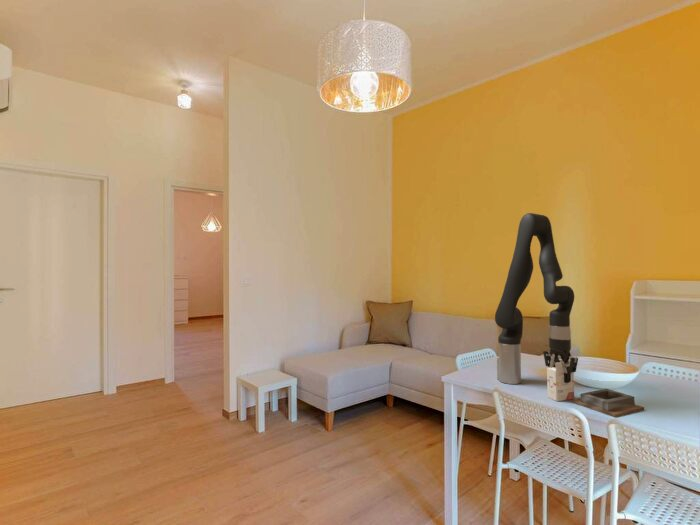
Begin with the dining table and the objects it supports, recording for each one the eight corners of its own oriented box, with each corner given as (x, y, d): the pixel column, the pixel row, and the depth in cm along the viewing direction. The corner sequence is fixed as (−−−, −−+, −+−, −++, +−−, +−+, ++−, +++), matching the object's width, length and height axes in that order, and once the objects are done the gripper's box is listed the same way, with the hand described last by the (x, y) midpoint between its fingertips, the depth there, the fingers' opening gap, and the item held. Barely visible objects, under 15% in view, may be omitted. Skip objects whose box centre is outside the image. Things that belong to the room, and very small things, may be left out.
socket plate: (572, 402, 150) (572, 391, 150) (600, 396, 156) (600, 386, 156) (614, 417, 135) (614, 405, 135) (644, 410, 141) (644, 398, 141)
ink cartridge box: (564, 395, 158) (564, 358, 158) (574, 399, 153) (574, 361, 153) (546, 397, 156) (546, 359, 156) (556, 401, 151) (555, 362, 151)
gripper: (537, 334, 160) (538, 377, 160) (569, 341, 146) (570, 387, 146) (551, 333, 163) (551, 374, 162) (583, 339, 149) (584, 384, 149)
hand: (560, 380), depth 154 cm, fingers closed on ink cartridge box, 5 cm apart
